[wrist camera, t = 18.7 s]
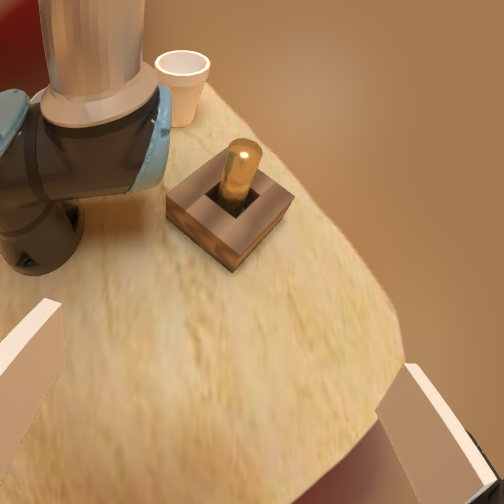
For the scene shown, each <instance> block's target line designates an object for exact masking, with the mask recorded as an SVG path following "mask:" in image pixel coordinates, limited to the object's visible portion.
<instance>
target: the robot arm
mask: <svg viewBox="0 0 504 504" xmlns="http://www.w3.org/2000/svg"><path fill="white" fill-rule="evenodd" d="M144 4H145V0H39V10H40V19H41V28H42V35H43V41H44V49H45V55H46V60H47V66H48V71H49V76H50V81H51V83H50V84H49V85H48V87H47V88H46V90H45V91H44V93H43V95H42V97H41V101H40V103H35V104H30V99H29V96H27V95H26V93H25V92H23V91H20V90H19V89H12V90H7V91H4V92H1V93H0V252H1V254H2V256H3V257H4V259H5V260H6V261H7V262H8V263H9V264H10V265H11V266H12V267H13V268H14V269H15V270H17V271H18V272H20V273H22V274H26V275H42V274H46V273H48V272H51V271H53V270H55V269H56V268H58V267H59V266H61V265H62V264H63V263H64V262H65V261H67V259H68V258H69V257H70V256H71V255H72V254H73V252H74V251H75V249H76V248H77V246H78V244H79V242H80V239H81V236H82V233H83V228H84V216H83V212H82V209H81V206H80V204H79V201H78V199H81V198H89V197H98V196H107V195H116V194H129V193H131V192H133V191H139V190H145V189H150V188H153V187H155V186H156V185H158V184H159V182H160V181H161V180H162V178H163V175H164V172H165V169H166V164H167V159H168V152H169V143H170V135H169V133H170V128H171V121H172V97H171V91H170V89H169V87H167V86H164V85H160V84H158V76H157V74H156V72H155V70H154V69H153V68H152V67H151V66H150V65H148V64H147V63H145V62H144V61H142V43H143V19H144ZM66 364H67V358H66V350H65V340H64V328H63V312H62V303H59V302H56V301H53V300H50V299H47V298H44V299H43V300H42V301H41V302H40V303H39V304H38V305H37V306H36V307H35V308H34V309H33V310H32V311H31V312H30V313H29V314H28V315H27V316H26V317H25V318H24V319H23V320H22V321H21V322H20V323H19V324H18V325H17V326H16V327H15V328H14V329H13V330H12V331H11V332H10V333H9V334H8V335H7V337H6V338H5V339H4V340H3V341H2V342H1V343H0V485H1V483H2V481H3V479H4V476H5V474H6V472H7V470H8V468H9V466H10V464H11V462H12V460H13V458H14V456H15V454H16V452H17V450H18V448H19V446H20V444H21V442H22V440H23V438H24V436H25V434H26V432H27V430H28V429H29V427H30V425H31V423H32V421H33V419H34V418H35V416H36V414H37V412H38V410H39V409H40V407H41V405H42V403H43V402H44V400H45V398H46V397H47V395H48V393H49V392H50V390H51V388H52V386H53V385H54V383H55V381H56V380H57V378H58V377H59V375H60V373H61V372H62V370H63V368H64V367H65V365H66ZM375 412H376V414H377V416H378V418H379V420H380V421H381V423H382V426H383V428H384V430H385V432H386V434H387V436H388V438H389V440H390V442H391V444H392V446H393V448H394V450H395V452H396V454H397V456H398V459H399V461H400V463H401V465H402V467H403V469H404V471H405V473H406V475H407V478H408V480H409V482H410V484H411V486H412V488H413V490H414V493H415V495H416V497H417V499H418V501H419V503H420V504H504V480H501V478H500V477H499V476H498V474H497V473H496V471H495V470H494V468H493V466H492V465H491V463H490V462H489V460H488V459H487V457H486V456H485V454H484V453H482V450H481V448H480V447H479V446H477V442H476V441H475V439H474V438H473V436H472V435H471V434H470V433H469V432H468V431H466V430H465V429H464V428H463V427H462V425H461V424H460V423H459V421H458V419H457V418H456V417H455V415H454V414H453V412H452V411H451V410H450V408H449V407H448V405H447V404H446V403H445V401H444V400H443V398H442V397H441V396H440V394H439V393H438V392H437V390H436V389H435V388H434V386H433V385H432V384H431V382H430V381H429V379H428V378H427V377H426V376H425V374H424V373H423V372H422V370H421V369H420V368H419V366H418V365H417V364H406V363H403V365H402V367H401V369H400V371H399V372H398V374H397V376H396V377H395V379H394V381H393V382H392V384H391V386H390V387H389V389H388V391H387V392H386V394H385V396H384V397H383V399H382V400H381V402H380V403H379V405H378V406H377V408H376V409H375Z"/></svg>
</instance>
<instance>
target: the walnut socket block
mask: <svg viewBox="0 0 504 504" xmlns="http://www.w3.org/2000/svg"><path fill="white" fill-rule="evenodd" d="M227 151H228V147H227V148H226V149H224V150H223V151H221V152H220V153H219V154H217V155H216V156H215V157H213V158H212V159H211V160H209V161H208V162H207V163H205V164H204V165H203V166H202V167H200V168H199V169H198V170H196V171H195V172H194V173H192V174H191V175H190V176H189V177H187V178H186V179H185V180H184V181H182V182H181V183H180V184H179V185H177V186H176V187H175V188H174V189H172V190H171V191H170V192H169V193H167V194H166V218H167V219H168V220H169V221H171V222H172V223H173V224H174V225H175V226H176V227H178V228H179V229H180V230H181V231H182V232H184V233H185V234H186V235H187V236H188V237H189V238H191V239H192V240H193V241H194V242H195V243H197V244H198V245H199V246H200V247H201V248H203V249H204V250H205V251H206V252H207V253H209V254H210V255H211V256H212V257H213V258H215V259H216V260H217V261H218V262H219V263H221V264H222V265H223V266H224V267H226V268H227V269H228V270H229V271H230V272H232V273H233V272H234V271H235V270H236V269H237V268H238V266H239V265H240V264H241V263H242V262H243V261H244V260H245V259H246V258H247V256H248V255H249V254H250V253H251V252H252V251H253V250H254V249H255V248H256V247H257V245H258V244H259V243H260V242H261V241H262V240H263V239H264V238H265V237H266V235H267V234H268V233H269V232H270V231H271V230H272V229H273V228H274V227H275V226H276V224H277V223H278V222H279V221H280V220H281V219H282V218H283V216H284V214H285V213H286V211H287V209H288V208H289V206H290V204H291V202H292V201H293V199H294V197H295V196H294V195H292V194H291V193H290V192H288V191H287V190H286V189H284V188H283V187H282V186H280V185H279V184H278V183H276V182H275V181H274V180H272V179H271V178H270V177H268V176H267V175H266V174H264V173H263V172H261V171H260V170H259V169H257V171H256V173H255V176H254V179H253V181H252V184H251V187H250V190H249V192H248V195H247V198H246V201H245V203H244V206H243V209H242V212H241V214H240V216H239V217H238V218H237V219H235V218H234V217H232V216H231V215H230V214H229V213H227V212H226V211H225V210H224V209H222V208H221V207H220V206H218V205H217V204H216V199H217V194H218V190H219V185H220V181H221V177H222V172H223V168H224V164H225V160H226V156H227Z"/></svg>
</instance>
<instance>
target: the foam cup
mask: <svg viewBox="0 0 504 504" xmlns="http://www.w3.org/2000/svg"><path fill="white" fill-rule="evenodd" d="M209 68H210V62H209V60H208V58H207V57H205V56H204V55H202V54H200V53H197V52H192V51H172V52H168V53H165V54H163V55H161V56H159V57H158V58H157V60H156V61H155V69H154V70H155V72H156V74H157V76H158V84H160V85H164V86H167V87H169V89H170V91H171V97H172V121H171V127H184V126H187V125H189V124H190V123H191V122H192V121H193V118H194V114H195V111H196V108H197V105H198V101H199V98H200V95H201V92H202V89H203V85H204V82H205V80H206V79H207V77H208V73H209Z"/></svg>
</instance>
